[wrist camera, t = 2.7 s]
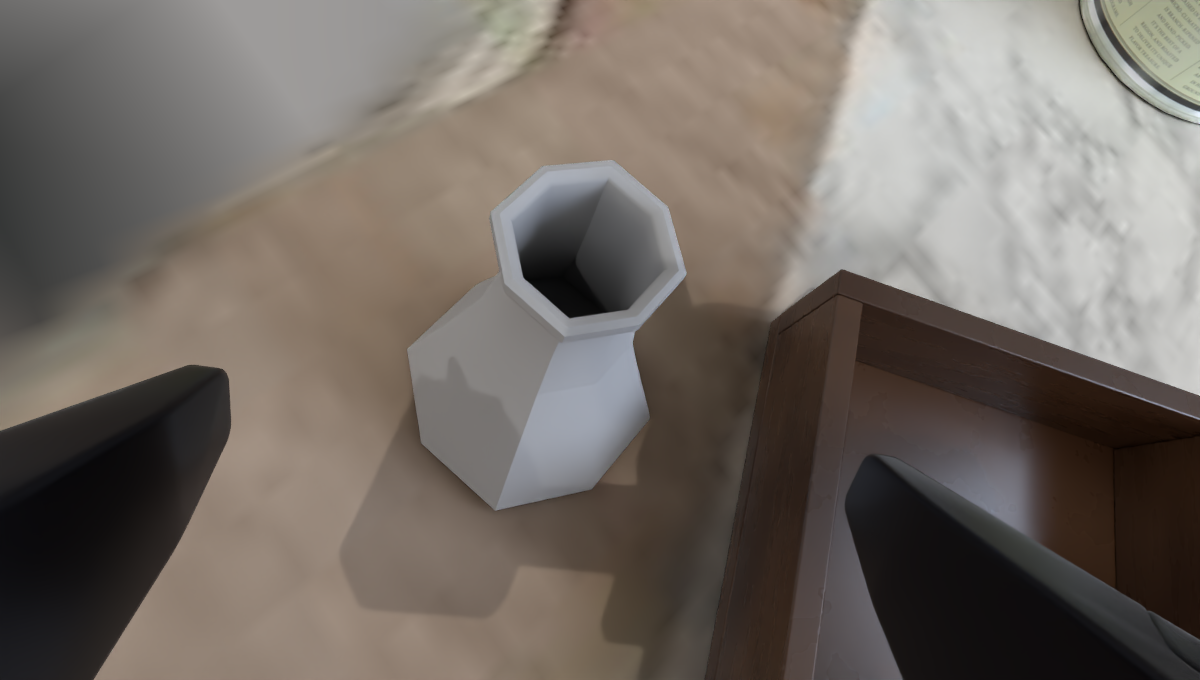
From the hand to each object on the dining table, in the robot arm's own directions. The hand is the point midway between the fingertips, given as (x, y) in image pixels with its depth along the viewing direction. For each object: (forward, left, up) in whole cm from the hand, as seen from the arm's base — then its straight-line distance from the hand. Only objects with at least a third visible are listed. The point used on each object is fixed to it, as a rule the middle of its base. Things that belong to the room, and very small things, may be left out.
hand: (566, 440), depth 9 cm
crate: (+2, -14, -10) cm, 17 cm away
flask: (+3, 0, -11) cm, 11 cm away
